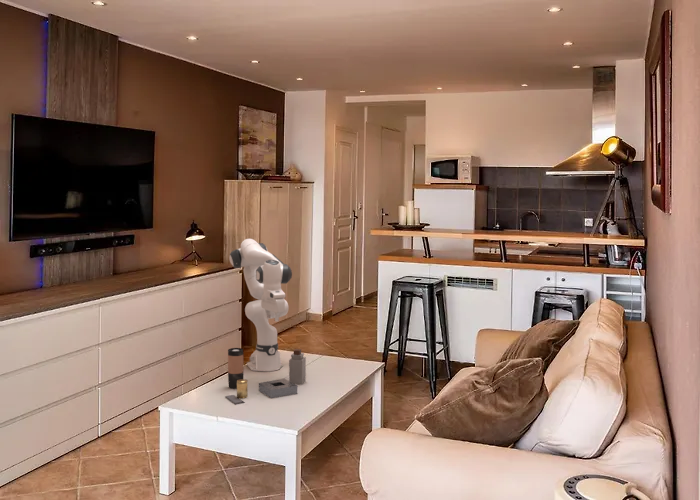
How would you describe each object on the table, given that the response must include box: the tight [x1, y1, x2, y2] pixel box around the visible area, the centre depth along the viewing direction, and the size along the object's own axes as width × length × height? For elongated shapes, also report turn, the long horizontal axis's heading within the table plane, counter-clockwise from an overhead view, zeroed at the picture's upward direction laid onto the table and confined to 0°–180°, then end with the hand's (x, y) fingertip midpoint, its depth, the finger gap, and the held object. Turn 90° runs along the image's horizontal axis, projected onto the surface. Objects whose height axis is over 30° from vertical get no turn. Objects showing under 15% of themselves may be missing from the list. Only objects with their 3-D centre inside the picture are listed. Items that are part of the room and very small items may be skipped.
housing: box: [258, 378, 298, 399], centre depth 326 cm, size 14×14×5 cm
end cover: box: [236, 378, 249, 400], centre depth 318 cm, size 5×5×8 cm
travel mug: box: [227, 347, 245, 390], centre depth 334 cm, size 8×8×20 cm
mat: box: [224, 394, 246, 405], centre depth 319 cm, size 12×12×1 cm
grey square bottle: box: [288, 348, 307, 386], centre depth 343 cm, size 7×7×18 cm
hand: (272, 319), depth 337 cm, fingers open, 8 cm apart
